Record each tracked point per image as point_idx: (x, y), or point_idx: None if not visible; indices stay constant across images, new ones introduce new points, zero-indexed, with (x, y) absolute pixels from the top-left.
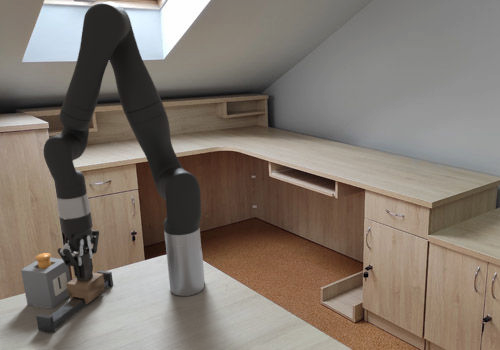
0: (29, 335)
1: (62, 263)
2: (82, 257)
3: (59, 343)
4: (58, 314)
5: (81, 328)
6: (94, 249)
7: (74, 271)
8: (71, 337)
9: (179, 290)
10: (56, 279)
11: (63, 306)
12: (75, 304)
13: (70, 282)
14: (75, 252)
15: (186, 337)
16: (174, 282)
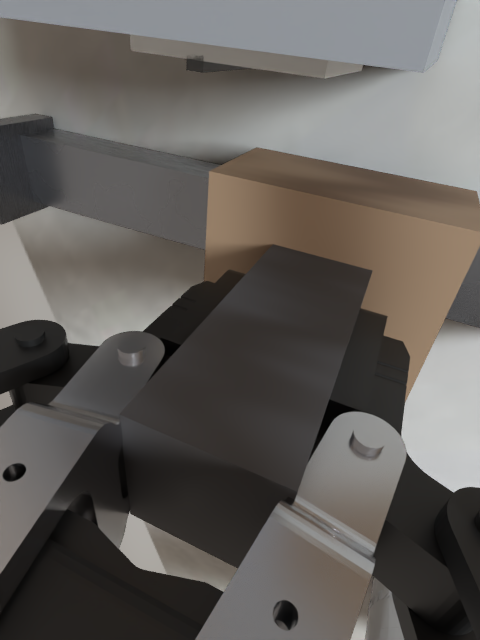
0: (6, 82)
1: (276, 51)
2: (136, 505)
3: (34, 252)
4: (91, 191)
5: (121, 295)
6: (411, 631)
7: (167, 312)
8: (71, 280)
9: (371, 597)
10: (172, 54)
11: (155, 175)
12: (190, 239)
13: (230, 198)
14: (83, 499)
15: (173, 539)
16: (376, 625)
